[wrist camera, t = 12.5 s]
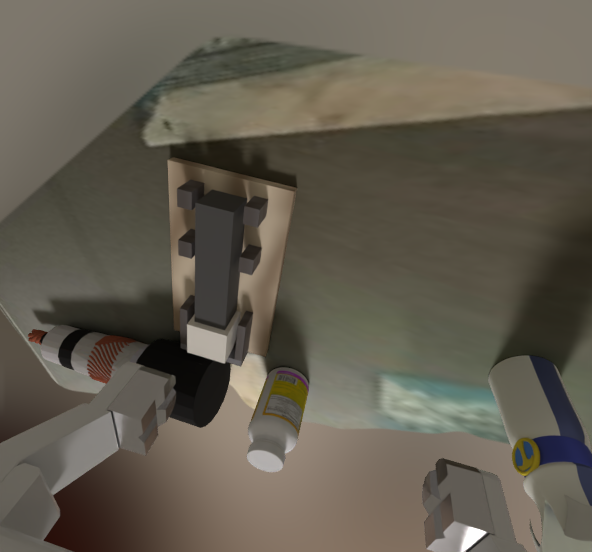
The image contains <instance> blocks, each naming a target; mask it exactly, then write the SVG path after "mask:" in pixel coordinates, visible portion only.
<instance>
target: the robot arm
mask: <svg viewBox="0 0 592 552" xmlns="http://www.w3.org/2000/svg"><path fill="white" fill-rule="evenodd" d="M175 384H176V379H175V376H173V375H170V374H167V373H164V372H161V371H158V370H154V369H151V368H148V367H145V366H143V365H139V364H136V363H133V362H130V361H128V362H126V363H125V364H123V365H122V366H121V367H120V368H119V370H118V371H117V372H116V373H115V374H114V375H113V377H112V378H111V379H110V380H109V381H108V383H107V384H106V385H105V386H104V387H103V388H102V390H101V391H100V392H99V393H98V394H97V395H96V397H95V398H94V399H93V400H92V401H91V402H90V404H86V403H83V404H81V405H79V406H77V407H75V408H73V409H71V410H69V411H67V412H65V413H62V414H60V415H58V416H56V417H54V418H52V419H50V420H48V421H46V422H44V423H42V424H40V425H37V426H35V427H33V428H31V429H29V430H27V431H25V432H23V433H21V434H19V435H17V436H14V437H12V438H10V439H8V440H6V441H4V442H2V443H0V552H72V551H70V550H67V549H64V548H61V547H59V546H56V545H53V544H51V543H48V542H45V541H43V540H44V538H45V537H46V535H47V534H48V532H49V531H50V529H51V528H52V527H53V525H54V524H55V522H56V521H57V519H58V518H59V517H60V510H59V508H58V506H57V504H56V501H55V499H54V497H53V494H55V493H57V492H58V491H59V490H61V489H62V488H64V487H65V486H66V485H68V484H70V483H71V482H72V481H74V480H75V479H77V478H78V477H80V476H81V475H83V474H84V473H85V472H87V471H88V470H90V469H91V468H93V467H94V466H96V465H97V464H98V463H100V462H101V461H103V460H104V459H106V458H107V457H109V456H110V455H111V454H112V453H114V452H116V451H117V450H118V449H119V448H122V449H125V450H129V451H132V452H135V453H139V454H142V455H147V453H148V451H149V450H150V448H151V446H152V445H153V443H154V441H155V440H156V438H157V436H158V426H160V425H162V424H163V423H165V422H166V421H167V420H168V418H169V416H170V415H171V413H172V410H173V408H174V405H175V401H176V391H175V390H174V389H173V387H174V385H175ZM118 447H119V448H118ZM422 498H423V505H424V507H425V509H426V511H427V512H428V514H429V516H428V517H427V519H426V520H425V522H424V526H425V539H426V549H428V550H431V551H433V552H527V551H526V549H525V548H524V546H523V545H521V544H519V543H517V542H516V538H515V535H514V531H513V527H512V524H511V519H510V516H509V512H508V508H507V504H506V501H505V497H504V493H503V489H502V486H501V482H500V479H499V478H498V476H497V475H495V474H493V473H490V472H486V471H483V470H479V469H477V468H474V467H470V466H467V465H464V464H461V463H457V462H454V461H450V460H447V459H439V460H438V461H437V463H436V470H433V471H430V472H429V473H428V474H427V476H426V477H425V481H424V484H423V492H422Z"/></svg>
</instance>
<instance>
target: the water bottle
mask: <svg viewBox="0 0 592 552" xmlns="http://www.w3.org/2000/svg"><path fill="white" fill-rule="evenodd" d="M488 379H489V384H490V386H491V389H492V392H493V394H494V397H495V400H496V403H497V405H498V408H499V411H500V414H501V417H502V420H503V423H504V427H505V430H506V433H507V436H508V439H509V442H510V444H511V446H512V448H513V452H512V460H513V465H514V467H515V469H516V470H517V472H518V473H520V474H521V475H523V476H524V477H525V480H524V482H523V487H524V489H525V491H526V493H527V494H528V495H529V496H530V497H531V498H532V499H533V500H534V502H535V504H536V505H537V507H538V509H539V511H540V514H541V521H542V542H541V545H540V544H539V543H538V541H537V540H536V538H535V535H534V533H533V530H532V526H531V522H530V531H531V535H532V538H533V541H534V544H535V547H536V550H537V552H592V454H591V445H590V440H589V437H588V434H587V432H586V430H585V428H584V425H583V423H582V421H581V419H580V417H579V415H578V413H577V411H576V409H575V407H574V405H573V403H572V401H571V399H570V396H569V394H568V392H567V390H566V387H565V385H564V382H563V380H562V378H561V375H560V373H559V371H558V369H557V367H556V366H555V365H554V364H553V363H552V362H550V361H548V360H546V359H544V358H541V357H537V356H529V355H523V356H515V357H511V358H508V359H505V360H503V361H501V362H499V363H498V364H497V365H495V366H494V367H493V368H492V370H491V371H490V373H489V378H488Z"/></svg>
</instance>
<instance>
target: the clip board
mask: <svg viewBox="0 0 592 552" xmlns="http://www.w3.org/2000/svg"><path fill="white" fill-rule="evenodd" d="M168 182H169V208H170V235H171V261H172V288H173V314H174V330H176V331H180V342H181V348H182V349H185V350H187V324H188V322H189V321H190V320H191V318H192V317H193V316H194V314H195V203H196V202H197V201H198V200H199V199H201V198H202V197H203V196H204V195H206V194H207V193H208V192H209V191H211V190H212V189H213V190H217V191H220V192H224V193H228V194H232V195H236V196H240V197H244V198H247V204H246V205H245V206H244V216H243V224H245V228H244V238H243V248H242V254H241V256H240V259H239V270H238V272H240V279H239V290H238V300H237V311H239V312H241V314H240V323H239V324H238V330H237V340H236V343H235V345H234V347H233V349H232V351H231V353H230V355H229V357H228V358H227V360H226V362H228V363H232V364H235V365H238V366H241V365H242V363H243V361H244V359H245V357H246V355H247V352H251V353H254V354H257V355H261V356H264V357H266V354H267V352H268V347H269V342H270V336H271V330H272V325H273V319H274V314H275V308H276V302H277V297H278V291H279V286H280V280H281V275H282V269H283V263H284V258H285V252H286V247H287V241H288V235H289V230H290V224H291V219H292V213H293V208H294V202H295V196H296V191H297V188H295V187H291V186H287V185H283V184H279V183H275V182H271V181H267V180H263V179H259V178H255V177H251V176H247V175H243V174H239V173H235V172H231V171H227V170H223V169H219V168H215V167H211V166H207V165H203V164H199V163H195V162H191V161H187V160H183V159H179V158H175V157H173V158H171V159H169V160H168Z"/></svg>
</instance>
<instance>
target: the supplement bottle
mask: <svg viewBox="0 0 592 552" xmlns="http://www.w3.org/2000/svg"><path fill="white" fill-rule="evenodd" d="M308 391H309V384H308V381H307V379H306V378H305V376H303V375H302V374H301V373H300V372H298V371H297V370H294V369H292V368H287V367H281V368H276V369H274V370H272V371H271V372H270V373H269V374H268V376H267V378H266V381H265V383H264V386H263V389H262V392H261V394H260V397H259V400H258V403H257V405H256V408H255V411H254V414H253V416H252V419H251V422H250V424H249V428H248V435H249V438H250V440H251V441H252V444H251V445H250V447H249V450H248V453H247V459H248V461H249V462H250V463H251V464H252V465H253V466H254V467H256V468H258V469H260V470H263V471H267V472H276V471H279V470H281V469H282V467H283V464H284V461H285V453H288V452H290V451H291V450H292V449H293V448H294V447H295V445H296V443H297V439H298V435H299V430H300V426H301V422H302V417H303V413H304V409H305V404H306V400H307V396H308Z"/></svg>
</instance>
